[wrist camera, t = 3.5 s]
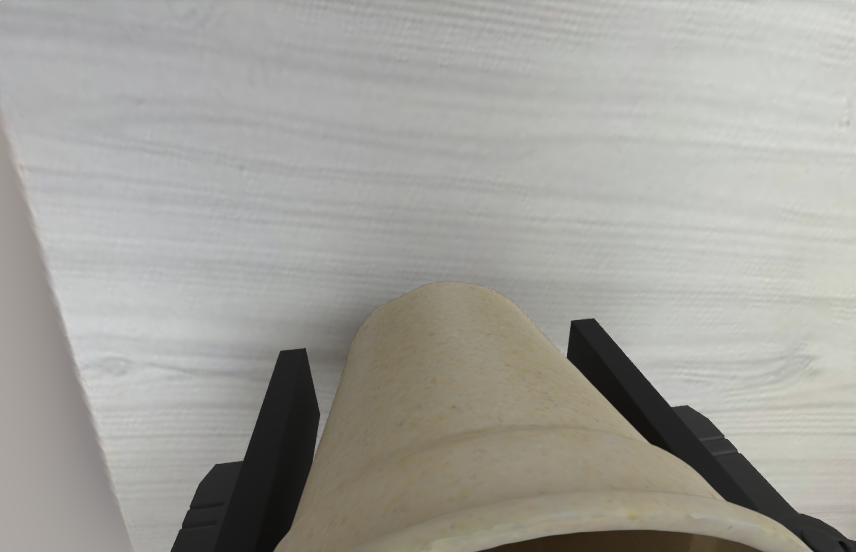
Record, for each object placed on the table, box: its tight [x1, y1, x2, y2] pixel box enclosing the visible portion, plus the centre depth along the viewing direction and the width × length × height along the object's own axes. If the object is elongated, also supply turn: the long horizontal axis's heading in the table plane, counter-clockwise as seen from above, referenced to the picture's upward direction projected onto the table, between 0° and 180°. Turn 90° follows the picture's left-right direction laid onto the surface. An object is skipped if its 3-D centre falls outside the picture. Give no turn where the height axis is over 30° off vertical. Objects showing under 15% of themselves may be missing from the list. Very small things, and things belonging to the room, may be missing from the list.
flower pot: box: [274, 282, 813, 552], centre depth 10 cm, size 9×9×9 cm
